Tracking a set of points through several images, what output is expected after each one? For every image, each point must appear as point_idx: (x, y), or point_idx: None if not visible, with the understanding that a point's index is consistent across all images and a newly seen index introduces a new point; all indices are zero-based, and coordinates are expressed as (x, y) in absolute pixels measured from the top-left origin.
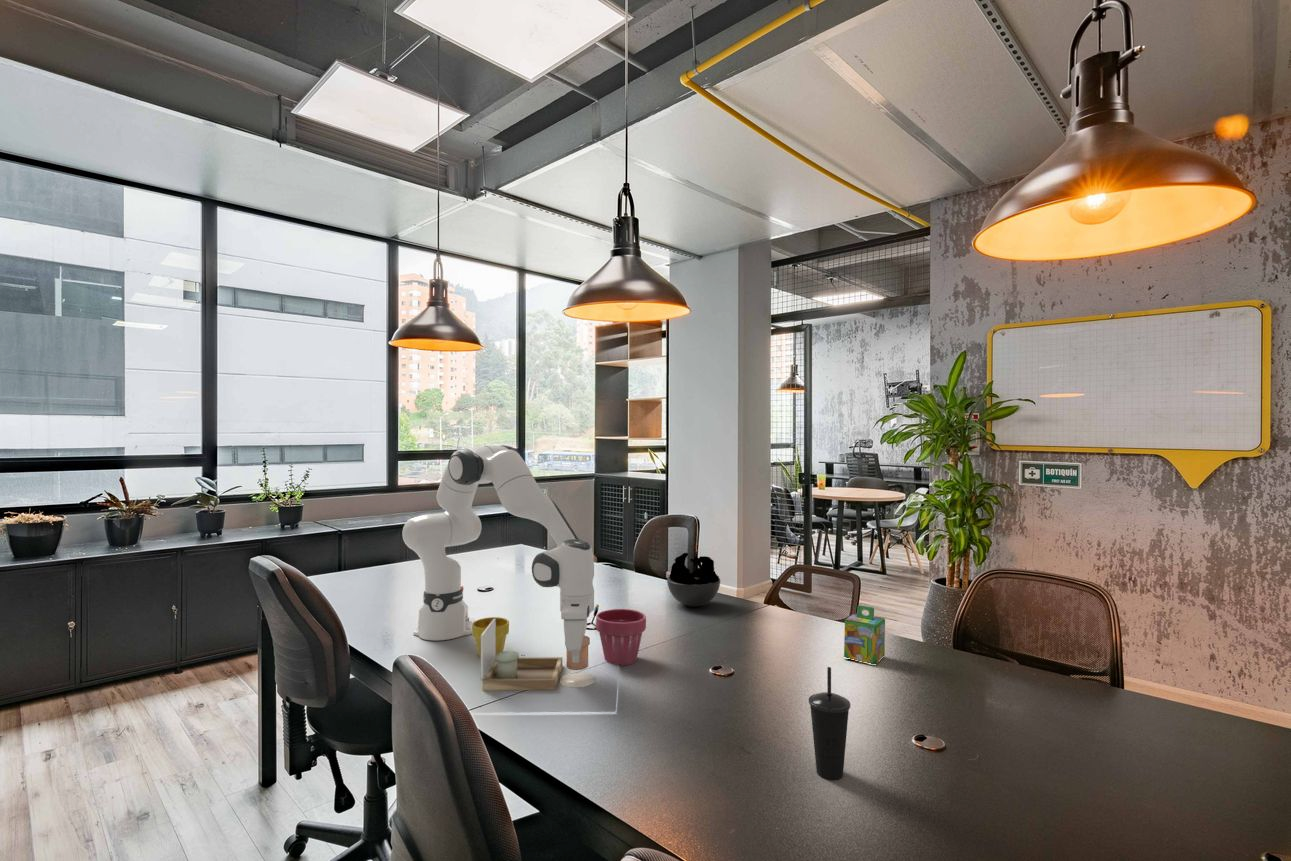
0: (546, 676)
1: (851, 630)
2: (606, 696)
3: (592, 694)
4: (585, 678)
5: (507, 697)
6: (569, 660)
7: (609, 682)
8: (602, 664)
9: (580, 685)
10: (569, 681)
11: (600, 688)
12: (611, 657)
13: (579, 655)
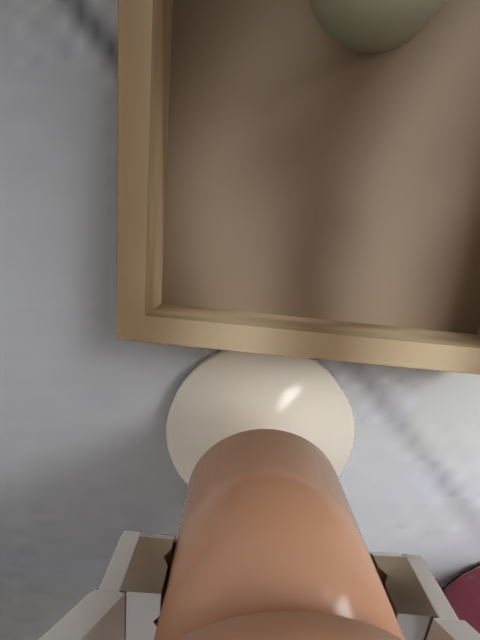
0: (344, 267)
1: None
2: (90, 539)
3: (112, 488)
4: None
5: (75, 24)
6: (201, 497)
7: None
8: (474, 541)
9: (177, 452)
10: (237, 399)
11: (178, 521)
12: (473, 623)
13: (131, 637)
